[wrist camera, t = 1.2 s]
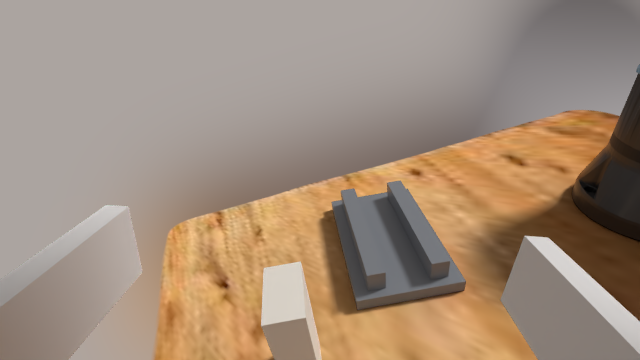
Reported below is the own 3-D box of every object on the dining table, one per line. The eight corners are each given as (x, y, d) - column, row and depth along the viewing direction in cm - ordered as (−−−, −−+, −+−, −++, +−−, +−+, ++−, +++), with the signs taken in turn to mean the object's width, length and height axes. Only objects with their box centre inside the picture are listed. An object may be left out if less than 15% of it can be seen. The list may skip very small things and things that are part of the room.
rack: (407, 196, 50) (407, 175, 48) (464, 290, 35) (469, 265, 32) (332, 209, 49) (329, 188, 47) (357, 309, 34) (355, 286, 32)
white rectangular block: (319, 343, 32) (300, 261, 25) (326, 399, 27) (305, 317, 21) (290, 349, 32) (263, 268, 25) (292, 405, 27) (261, 325, 21)
